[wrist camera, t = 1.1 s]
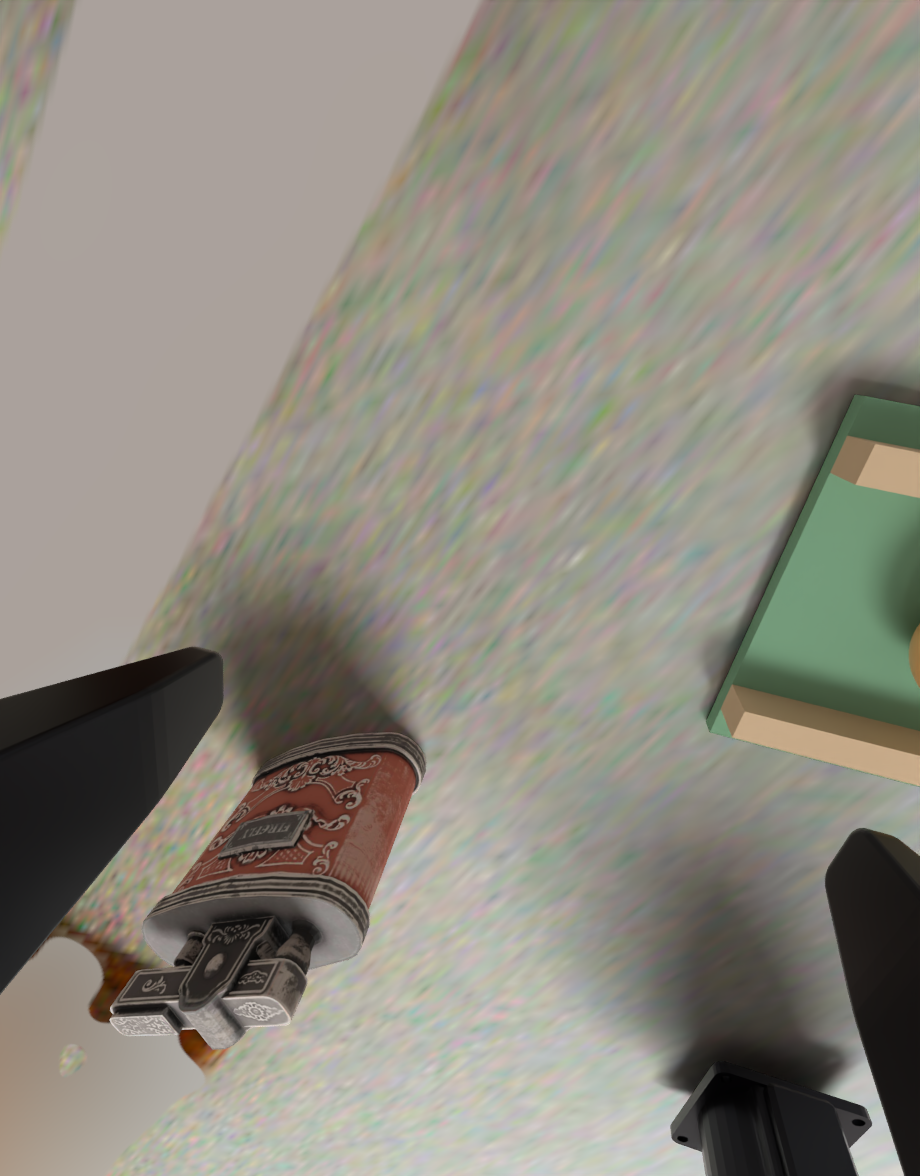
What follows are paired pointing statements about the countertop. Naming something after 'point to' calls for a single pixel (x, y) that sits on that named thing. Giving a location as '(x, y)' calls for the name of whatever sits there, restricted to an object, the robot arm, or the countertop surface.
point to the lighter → (275, 891)
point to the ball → (915, 655)
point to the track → (841, 611)
